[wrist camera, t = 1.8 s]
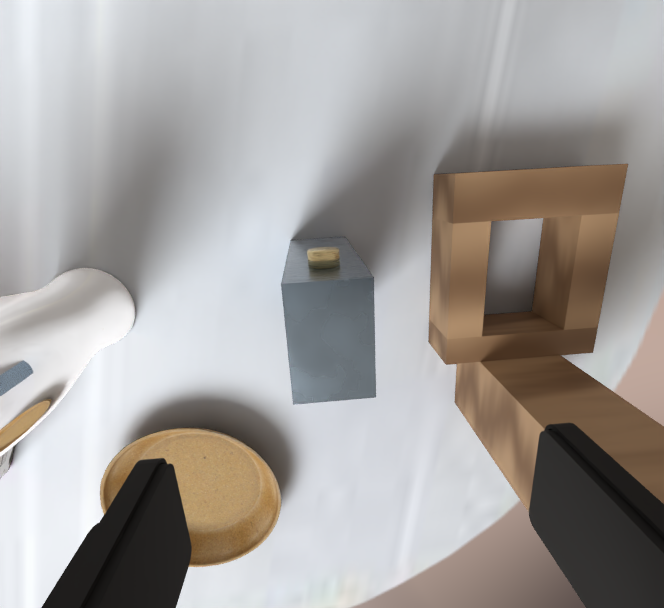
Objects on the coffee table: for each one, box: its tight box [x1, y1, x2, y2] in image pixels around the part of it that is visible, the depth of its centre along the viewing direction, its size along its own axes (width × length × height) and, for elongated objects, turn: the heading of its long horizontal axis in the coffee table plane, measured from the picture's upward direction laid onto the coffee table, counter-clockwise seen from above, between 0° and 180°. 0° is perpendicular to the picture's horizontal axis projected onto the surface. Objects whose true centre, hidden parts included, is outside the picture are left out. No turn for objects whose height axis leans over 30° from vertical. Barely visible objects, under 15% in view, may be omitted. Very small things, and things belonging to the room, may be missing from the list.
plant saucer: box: [100, 428, 281, 567], centre depth 33 cm, size 15×15×3 cm
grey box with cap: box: [281, 237, 376, 404], centre depth 23 cm, size 7×4×12 cm, turn 3°
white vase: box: [0, 268, 135, 457], centre depth 21 cm, size 7×7×15 cm
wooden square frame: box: [429, 164, 664, 512], centre depth 21 cm, size 20×11×20 cm, turn 3°
